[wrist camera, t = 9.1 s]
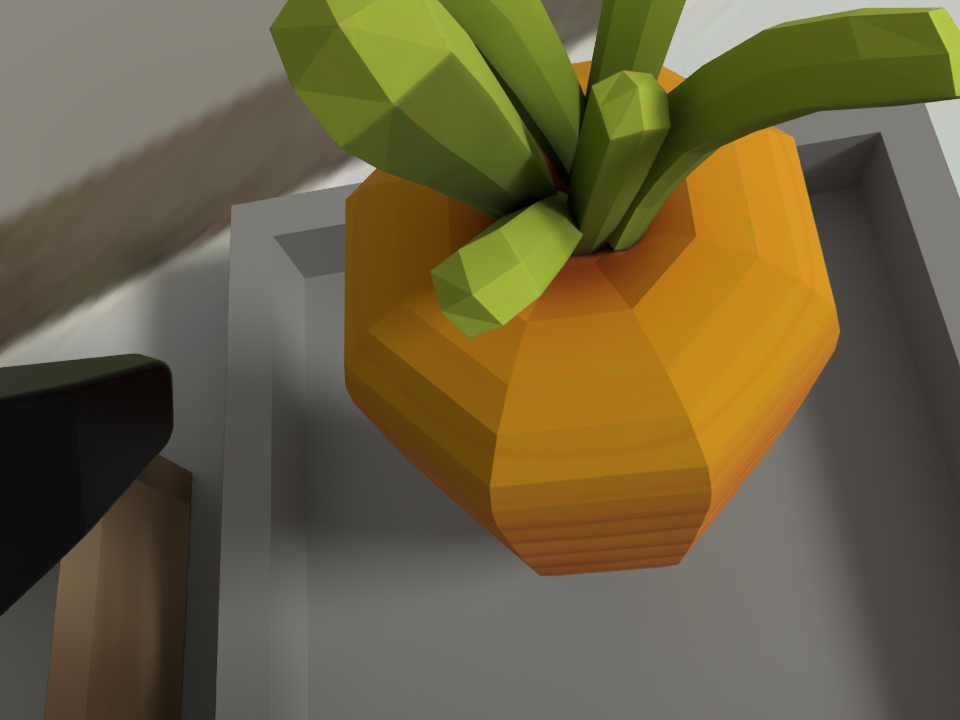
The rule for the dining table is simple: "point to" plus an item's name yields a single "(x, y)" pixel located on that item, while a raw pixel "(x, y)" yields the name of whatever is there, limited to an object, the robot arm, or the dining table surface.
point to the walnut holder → (125, 607)
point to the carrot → (588, 251)
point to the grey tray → (617, 594)
